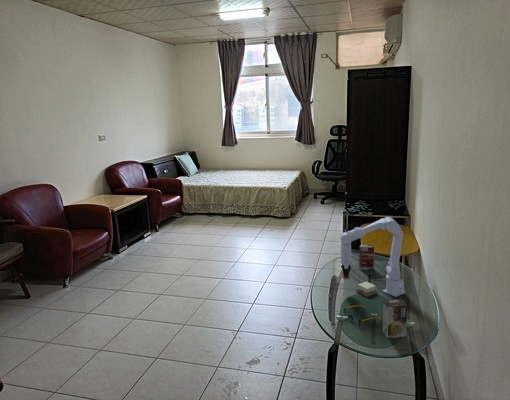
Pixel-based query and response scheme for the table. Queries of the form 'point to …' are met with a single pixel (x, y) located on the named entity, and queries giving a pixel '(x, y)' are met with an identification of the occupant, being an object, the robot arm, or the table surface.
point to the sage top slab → (366, 287)
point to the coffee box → (394, 318)
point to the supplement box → (366, 257)
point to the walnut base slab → (365, 292)
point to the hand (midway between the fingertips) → (346, 275)
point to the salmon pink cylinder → (345, 277)
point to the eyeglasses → (355, 317)
